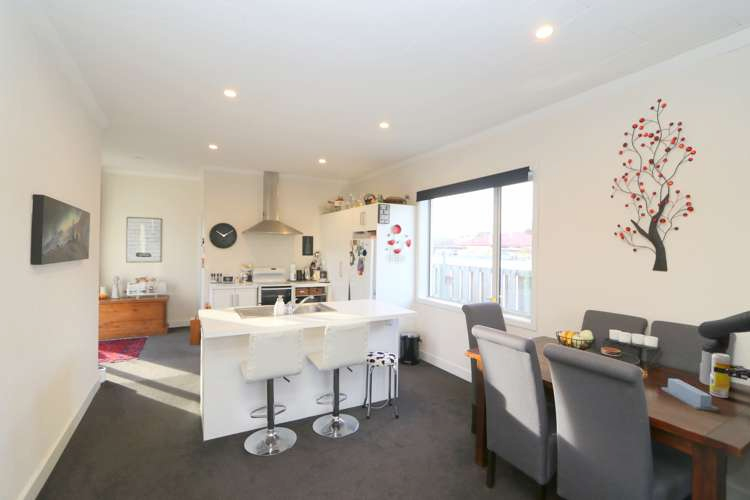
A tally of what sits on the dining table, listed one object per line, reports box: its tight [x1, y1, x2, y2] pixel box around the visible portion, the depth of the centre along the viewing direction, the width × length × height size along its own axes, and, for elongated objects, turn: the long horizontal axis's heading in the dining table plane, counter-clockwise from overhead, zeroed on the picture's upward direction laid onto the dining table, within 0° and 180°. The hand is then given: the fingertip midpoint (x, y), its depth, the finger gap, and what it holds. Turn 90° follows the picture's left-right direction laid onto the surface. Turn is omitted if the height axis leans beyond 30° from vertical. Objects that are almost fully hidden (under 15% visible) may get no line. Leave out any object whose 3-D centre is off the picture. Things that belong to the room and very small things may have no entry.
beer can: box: [711, 353, 732, 390], centre depth 162 cm, size 6×6×15 cm
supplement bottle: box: [709, 374, 730, 399], centre depth 174 cm, size 7×7×13 cm
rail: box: [661, 378, 719, 412], centre depth 169 cm, size 22×9×6 cm, turn 175°
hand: (713, 367), depth 164 cm, fingers closed on beer can, 5 cm apart
